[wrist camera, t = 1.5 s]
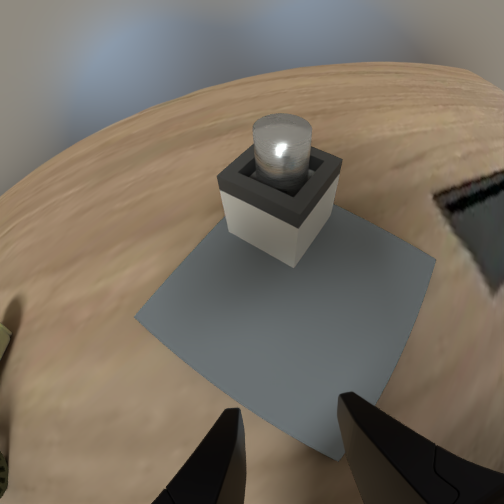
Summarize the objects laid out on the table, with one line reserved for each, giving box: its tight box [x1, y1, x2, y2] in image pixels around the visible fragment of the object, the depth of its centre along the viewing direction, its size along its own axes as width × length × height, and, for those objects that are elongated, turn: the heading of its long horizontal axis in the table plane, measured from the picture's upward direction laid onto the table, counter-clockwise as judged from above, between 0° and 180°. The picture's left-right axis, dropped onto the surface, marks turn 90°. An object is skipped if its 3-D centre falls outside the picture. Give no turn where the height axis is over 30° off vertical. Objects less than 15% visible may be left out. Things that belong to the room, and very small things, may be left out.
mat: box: [134, 204, 436, 462], centre depth 23 cm, size 20×20×1 cm
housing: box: [217, 144, 343, 268], centre depth 24 cm, size 7×7×7 cm
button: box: [253, 113, 312, 197], centre depth 20 cm, size 4×4×6 cm
